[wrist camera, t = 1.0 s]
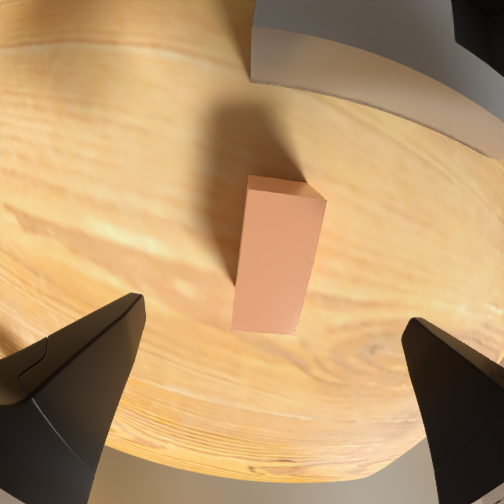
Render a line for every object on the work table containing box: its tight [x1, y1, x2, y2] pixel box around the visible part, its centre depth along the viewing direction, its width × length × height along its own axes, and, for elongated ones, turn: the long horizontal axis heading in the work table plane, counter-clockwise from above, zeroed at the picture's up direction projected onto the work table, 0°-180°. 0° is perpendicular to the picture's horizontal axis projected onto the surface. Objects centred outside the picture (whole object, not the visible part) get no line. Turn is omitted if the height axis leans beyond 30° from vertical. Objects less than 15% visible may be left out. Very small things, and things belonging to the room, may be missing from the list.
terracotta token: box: [231, 175, 327, 335], centre depth 13 cm, size 3×6×4 cm, turn 173°
